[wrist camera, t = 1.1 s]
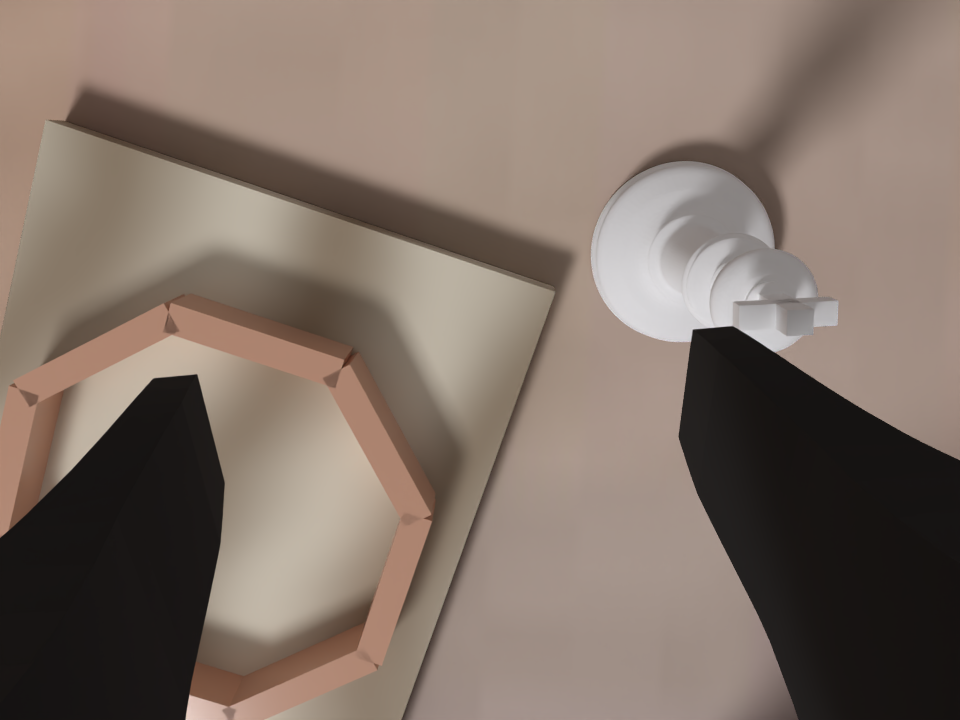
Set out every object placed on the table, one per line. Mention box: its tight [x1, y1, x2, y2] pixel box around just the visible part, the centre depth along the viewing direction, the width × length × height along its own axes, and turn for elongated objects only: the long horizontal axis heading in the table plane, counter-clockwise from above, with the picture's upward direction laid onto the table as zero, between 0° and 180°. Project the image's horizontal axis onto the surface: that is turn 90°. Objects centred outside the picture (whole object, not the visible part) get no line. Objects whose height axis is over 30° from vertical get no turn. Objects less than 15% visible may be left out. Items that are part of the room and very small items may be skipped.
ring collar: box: [0, 294, 436, 720], centre depth 25 cm, size 12×12×2 cm
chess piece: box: [591, 161, 838, 352], centre depth 19 cm, size 5×5×10 cm
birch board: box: [0, 120, 555, 720], centre depth 26 cm, size 14×18×1 cm
